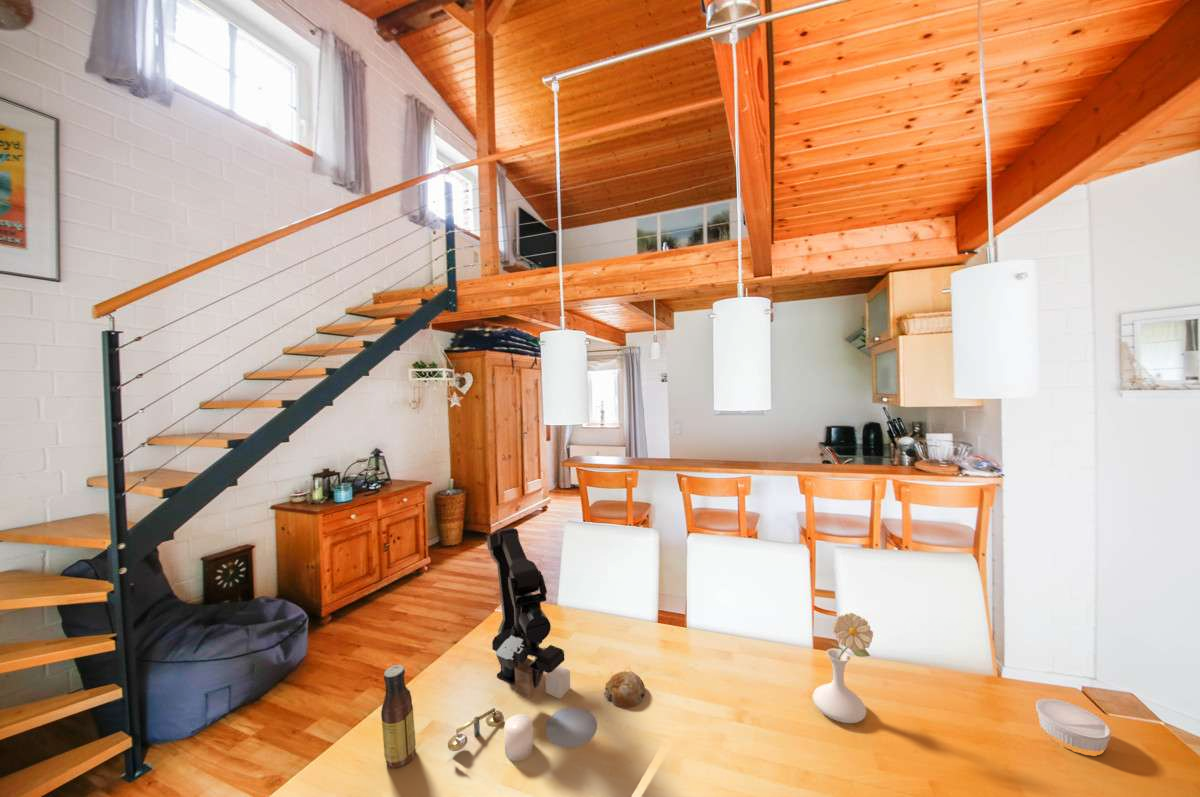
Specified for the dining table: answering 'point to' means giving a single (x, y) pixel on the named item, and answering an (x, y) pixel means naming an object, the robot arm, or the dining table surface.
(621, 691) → the bread roll
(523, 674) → the walnut block
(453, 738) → the balance
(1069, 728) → the ramekin
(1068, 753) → the dining table surface
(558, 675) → the beige block
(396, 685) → the sauce bottle
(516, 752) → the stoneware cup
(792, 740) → the dining table surface
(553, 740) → the dish
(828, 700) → the flower in vase
